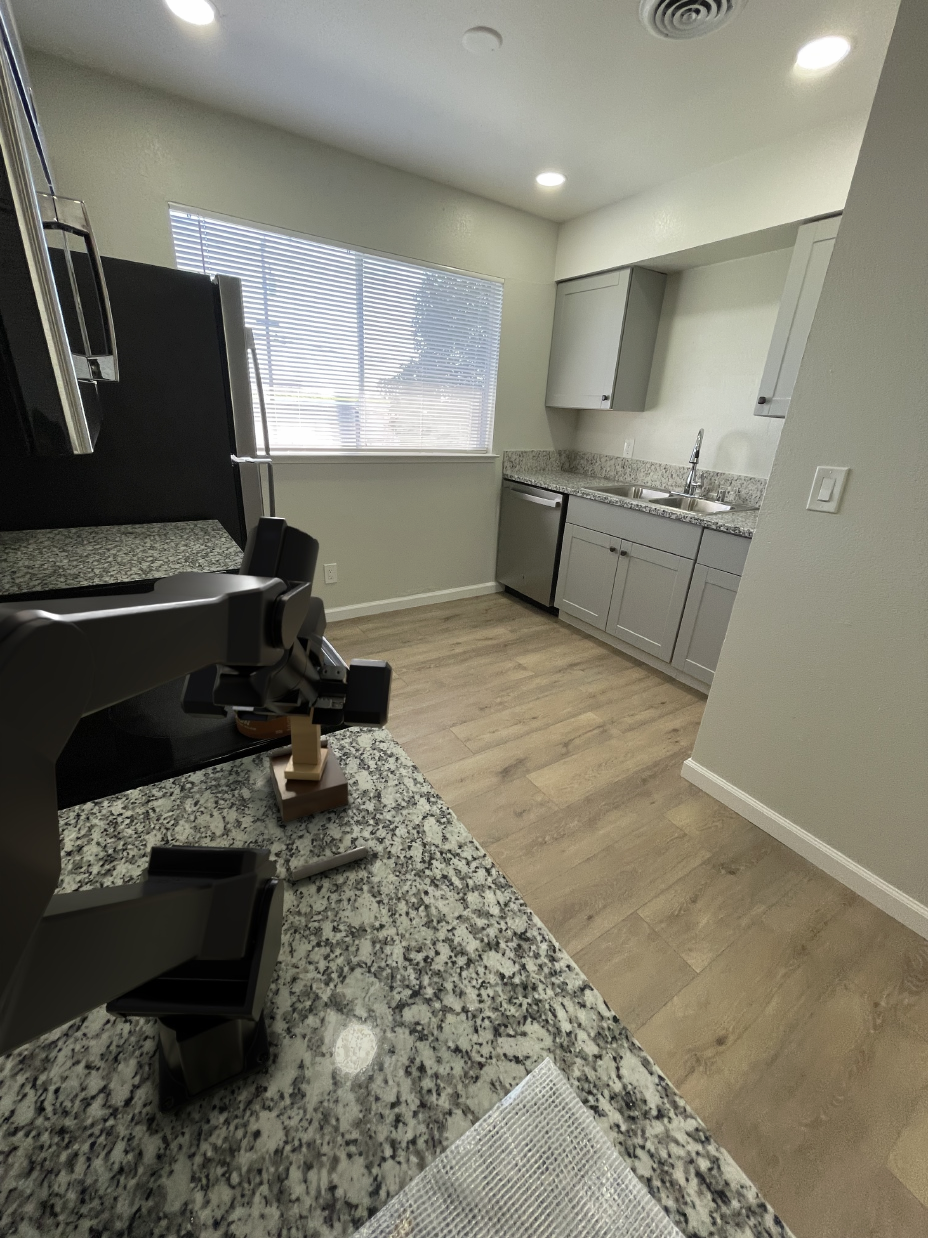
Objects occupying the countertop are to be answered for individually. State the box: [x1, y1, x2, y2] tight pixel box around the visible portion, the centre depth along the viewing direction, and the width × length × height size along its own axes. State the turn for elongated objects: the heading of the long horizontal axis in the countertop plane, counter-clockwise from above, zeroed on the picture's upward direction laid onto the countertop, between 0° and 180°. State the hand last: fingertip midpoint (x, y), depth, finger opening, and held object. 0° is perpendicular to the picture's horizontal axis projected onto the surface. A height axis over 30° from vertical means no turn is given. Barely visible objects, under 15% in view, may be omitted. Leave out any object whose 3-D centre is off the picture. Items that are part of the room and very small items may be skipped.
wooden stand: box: [268, 738, 368, 882], centre depth 55 cm, size 16×8×4 cm, turn 29°
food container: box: [233, 710, 291, 740], centre depth 67 cm, size 12×6×10 cm, turn 62°
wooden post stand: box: [284, 708, 328, 780], centre depth 55 cm, size 5×4×10 cm
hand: (308, 708), depth 56 cm, fingers closed on wooden post stand, 3 cm apart
